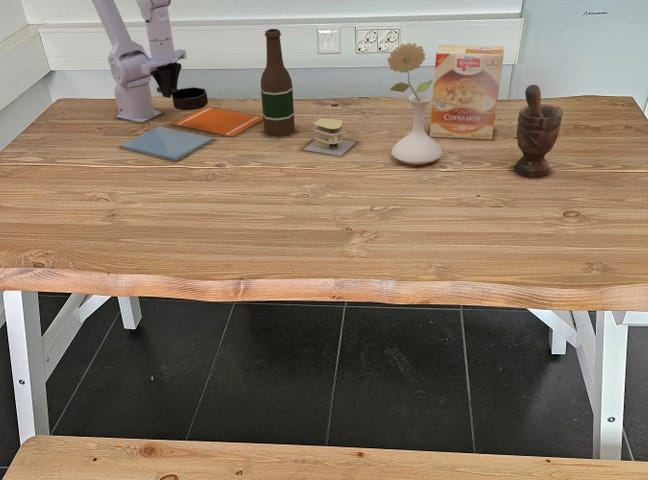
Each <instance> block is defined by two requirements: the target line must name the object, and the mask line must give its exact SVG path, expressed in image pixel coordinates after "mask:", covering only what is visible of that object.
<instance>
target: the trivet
mask: <svg viewBox="0 0 648 480" xmlns="http://www.w3.org/2000/svg"><path fill="white" fill-rule="evenodd" d="M212 141H214V138H213V137H211V136H207V135H201V134H198V133H197V134H196V133H193V132H188V131H183V130H179V129H174V128H169V127H164V126H160V125H159V126H157V127H154V128H152V129H150V130H148V131H146V132H144V133H142V134H140V135H138V136H136V137H135V138H132V139H130V140H128V141H126V142H124V143H122V144H120V146H121V147H120V148H121V149H124V150H127V151H133V152H137V153H139V154H144V155H147V156H148V155H149V156H153V157H156V158H162V159H164V160H165V159H166V160H170V161H173V162H178V161H180V160H181V159H183V158H186V156H188V155H189V154H190V153H192V152H194V151H196V150H198V149H199V148H202V147H203V146H205V145H206V144H208V143H210V142H212Z"/></svg>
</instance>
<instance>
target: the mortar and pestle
mask: <svg viewBox="0 0 648 480" xmlns="http://www.w3.org/2000/svg"><path fill="white" fill-rule="evenodd" d="M524 95H525V101H526V104H527V105H525V106H523V107H521V108H520V109H519V112H518V116H517V126H516V141H517V147H518V148H519V150H520V151H521V153H522V156H521V157H520V158H519V159H518V161H516V164H515V165H513V170H514V171H515V172H516V173H518V174H519V175H521V176H523V177H526V178H540V177H543V176H547V175H548V174H549V173H550V168H551V167H550V162H549V161H548V160H547V159H546V158H545V157H546V155H547V154H548V153H550V152H551V150H552V149H553V148H554V146H555V144H556V141H557V140H558V136H559V133H560V129H561V123H562V119H563V116H564V115H563V114H564V111H563V109H562V108H561V107H560V106H557V105H553V104H547V103H543V104H541V103H542V102H541V101H542V91H541V89H540V87H539V86H538V85H536V84H531V85H528V86H527V87H526V88H525V92H524Z"/></svg>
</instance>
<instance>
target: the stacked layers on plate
mask: <svg viewBox="0 0 648 480" xmlns="http://www.w3.org/2000/svg"><path fill="white" fill-rule="evenodd" d="M343 123H344V121H343V120H341V119H334V118H322V117H320V118H318V119H317V120H316V121H315V122H313V125H316V126H315V127H313V128H312V129H313V132H314V133H315V134H314V135H315V136H314V137H313V139H314V140H313V141H312V142H310V143H309V144H308V145H307V146H305V147H304V148H303V151H307V152H314V153H321V154H326V155H332V156H339V157H341V156H342V155H344V154H345V153H346V152H347V151H348V150H349V149H351V147H353V145H355V144H356V143H357V141H354V140H353V141H352V140H347V139H343V138H344V136H343V134H342V131H343V129H344V127H343Z"/></svg>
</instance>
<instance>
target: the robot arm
mask: <svg viewBox="0 0 648 480" xmlns="http://www.w3.org/2000/svg"><path fill="white" fill-rule="evenodd" d="M135 1H136V4H137V6H138V8H139V10H140V14H141V17H142V19H144V22H145V29H146V34H147V40H148V45H149V51H150V56H149V55H148V53H147V52H146V50H145V48H144V46H143V45H142V44H140V43H138V42H137V41H134V40H132V38H131V36H130V34H129V32H128V29H127V27H126V25H125V23H124V20H123V17H122V16H121V13H120V11H119V9H118V6H117V4H116V2H115V0H91V2H92V5H93V7H94V9H95V11H96V13H97V15H98V18H99V20H100V22H101V25H102V27H103V29H104V32H105V33H106V35H107V38H108V40H109V42H110V44H111V47H112V48H111V51H110V52H109V54H108V57H107V61H108V64H109V67H110V72H111V76H112V78H113V80H114V81H115V82H116V84H115V86H114V98H115V102H116V106H117V107H116V108H117V111H118V112H117V113H118V114H117V115H116V117H117V119H118V118H119V119H123V120H128V121H133V122H137V123H145V122H146V121H149V120H151V119H153V118H155V117H157V116H159V115H161V114H162V111H161V110H155V108H154V103H153V98H152V92H151V91H152V90H151V86H150V82H151V81H152V77H153V79H154V80H155V82H156V84H157V86H158V87H159V88H160V90H161V92H162V93H161V94H162V97H163V98H167V99H170V98H172V95H171V88H175V89H178V82H179V77H180V72H181V71H182V68H183V67H182V63H180V62H179V61H181V60H185V59H187V50H186V49H183V48H182V49H181V48H178V49H175V47H174V40H173V33H172V28H171V27H172V26H171V21H170V13H169V9H168V8H169V6H170V5H171V3H172V0H135Z"/></svg>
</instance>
